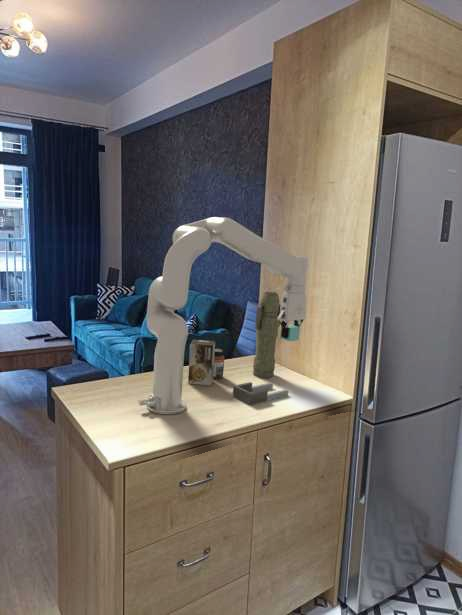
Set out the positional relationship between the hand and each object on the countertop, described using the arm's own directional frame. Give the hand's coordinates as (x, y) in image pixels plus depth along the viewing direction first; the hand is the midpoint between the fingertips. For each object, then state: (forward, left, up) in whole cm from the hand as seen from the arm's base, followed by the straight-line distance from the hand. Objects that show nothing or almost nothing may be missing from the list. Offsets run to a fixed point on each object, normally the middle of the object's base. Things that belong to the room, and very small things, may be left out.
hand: (289, 336), depth 170 cm
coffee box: (-24, +22, -22) cm, 39 cm away
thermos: (+5, +17, -22) cm, 28 cm away
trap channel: (-12, 0, -21) cm, 25 cm away
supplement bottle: (-15, +24, -22) cm, 36 cm away
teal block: (0, 0, -1) cm, 1 cm away
